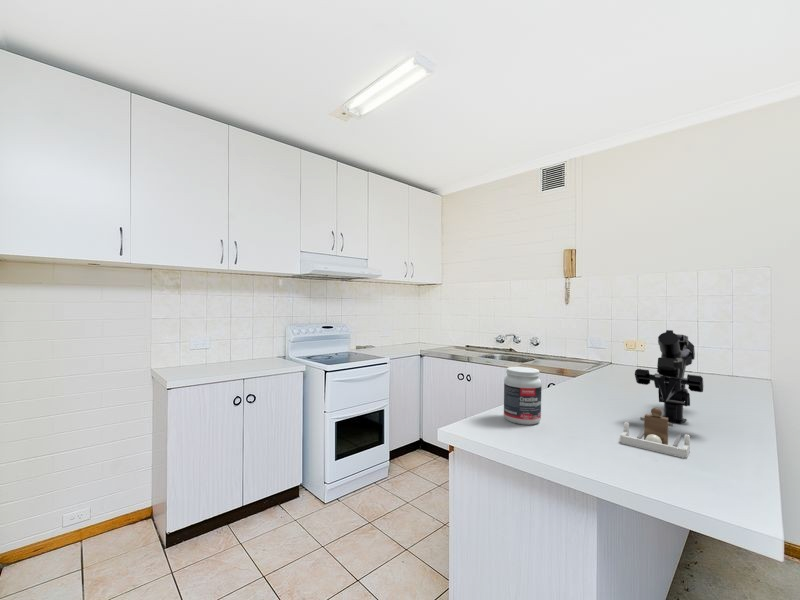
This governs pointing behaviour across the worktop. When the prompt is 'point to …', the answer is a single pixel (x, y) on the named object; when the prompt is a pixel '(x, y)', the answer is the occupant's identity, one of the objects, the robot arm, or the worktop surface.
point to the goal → (655, 444)
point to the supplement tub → (522, 395)
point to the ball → (653, 438)
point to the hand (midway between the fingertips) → (664, 400)
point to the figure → (656, 425)
